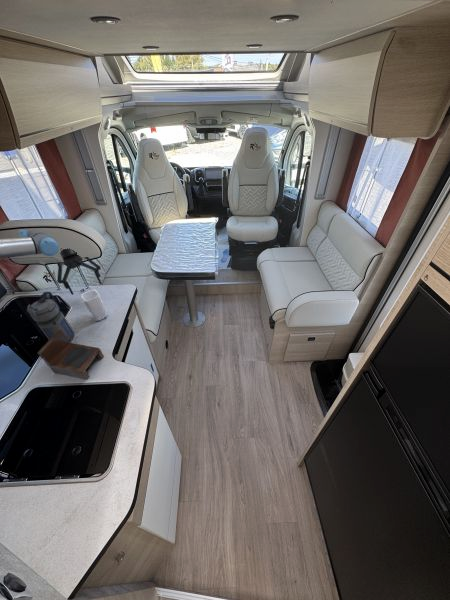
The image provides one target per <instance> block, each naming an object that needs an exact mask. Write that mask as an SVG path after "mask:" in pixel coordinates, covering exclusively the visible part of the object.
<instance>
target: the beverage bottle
mask: <svg viewBox="0 0 450 600" xmlns="http://www.w3.org/2000/svg"><path fill="white" fill-rule="evenodd" d="M26 312H27V313H28V314H29V316H30V317H31V319H32V320H33V321H34V322H36V323H35V324H36V325H37V326H38V328H39V329H40V330H41V331H42V332H43V334H44V335H45V337H46V338H47V340H48V341H49V340H50V339H51V338H52V337H53V336H54V335H55V334H56V333H57V331H58V330H61V331H62V332H63V333H64V335H65V336H66V337H67V339H68V340H69V342H70V343H71V342H72V340H74V338H75V331H74V329H73V327H72V326H71V325H70V323H69V321H68V319H67V318H66V316H65V315H64V313H63V312H62V311H61V310H60V306H59V305H58V303H57V301H56V299H55V297H54V295H53V293H52V292H51V291H44V292H43V293H42V294H41V295H40V298H39V299H38V300H36V301H35V302H32V304H30V303H29V304H28V305H27V307H26Z"/></svg>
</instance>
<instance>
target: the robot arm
mask: <svg viewBox="0 0 450 600" xmlns="http://www.w3.org/2000/svg"><path fill="white" fill-rule="evenodd" d="M19 234H20V235H19ZM18 235H19V237H9V238H0V260H1V259H9V258H18V257H25V256H34V255H44V256H47V257H53V256H55V255H57V254H58V253H60V254H59V255H60V257H61V258H62V260H63V261H62V262H57V263H56V265H57V283H58V284H63V286H64V288H65V289H66V290H69V293H70V294H71V296H73V295H74V291H73V290H72V288H71V285H70V284H69V282H68V281H67V280H68V278H69V275H70V272H71V271H72V269H73V270H74V269H76V268H80V267H83V268H86V269H88V270H91V271H92V272H94V274H95V275H94V276H95V277H96V279H97V282H98V283H99V285H102V284H103V283H102V281H101V279H100V278H101V274H100V270H102V268H101V266H100V264H97V263H96V262H95V261H93V260H92V259H91V258H90V257H82V256H81V255H80V254H79V255H80V256H79V255H77V252H75V251H74V250H72V249H70V248H69V249H68V248H67V249H63V250H61V249H62V248H61V249H60V250H61V252H59V245H58V243H57V242H56V241H55V240H54V239H53V238H51V237H50V236H48V235H47V234H46V233H44V232H42V231H36V230H34V231H28V230H22V229H19V231H18ZM20 237H21V238H20ZM86 259H87V260H88V261H87V260H86ZM90 259H91V260H90ZM83 260H84V261H87V262H88V263H89V264H91V265H89V264H87V263H85V262H84V261H83ZM64 266H66V269H65V272H64V274H63V268H64Z"/></svg>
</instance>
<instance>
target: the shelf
mask: <svg viewBox="0 0 450 600" xmlns="http://www.w3.org/2000/svg"><path fill="white" fill-rule="evenodd" d="M37 354H38V356H39V357H40V358H41V360H43V361H44V363H45V364H46V365H47V366H48V367H49V369H50V370H51V371H52V372H53V373H54V374H57V375H63V376H67V377H71V378H76V379H81V380H86V381H88V380H89V378H90V375H89V373H88V372H87V369H88V368H89V366H90V365H91V364H92V363H93V361H94V360H95V359H99V360H103V358H104V357H105V355H104V354H103V352H102V350H101V348H100V347H97V346H92V345H91V346H90V345H87V344H86V345H85V344H79V343H74V342H71V341H70V342H69V340H68V339H67V337H66V336H65V335H64V333H63V332H62V331H61V330H58V331H57V333H56V334H55V335H54V336H53V337H52V338H51V339H50V340H49V339H48V341H47V342H46V343H45V344H44V345H43V346H42V347H41V348H40V349H39V350H38V351H37Z"/></svg>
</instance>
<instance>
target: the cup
mask: <svg viewBox="0 0 450 600" xmlns="http://www.w3.org/2000/svg"><path fill="white" fill-rule="evenodd" d="M80 298H81V300H82V302H83V304H84V305H85V307H86V309H87V310H88V311H89V313H90V315H91V316H92V318H93V319H94V320H95V321H96V322H98V321H102V320H103V319H105V318H107V317H108V314H107V313H108V312H107V310H106V307H105V304H104V302H103V300H102V297H101V295H100V293H99V292H98V291H97V290H96V289H93V288H92V289H89V290H88V291H86V292H83V293H82V294H80Z"/></svg>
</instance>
